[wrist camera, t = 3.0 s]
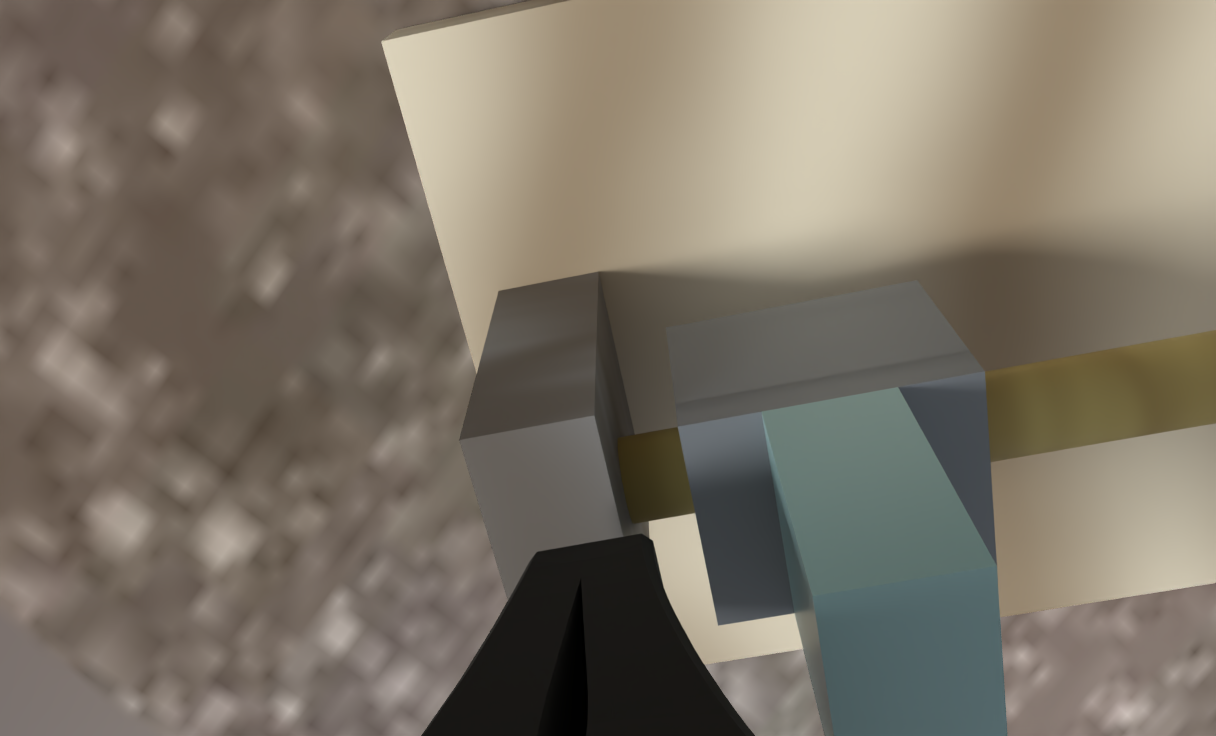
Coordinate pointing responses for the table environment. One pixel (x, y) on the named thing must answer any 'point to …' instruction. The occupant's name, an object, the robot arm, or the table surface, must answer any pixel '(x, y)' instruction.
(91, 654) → the table surface
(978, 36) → the rod and block board
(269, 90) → the table surface
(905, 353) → the sleeve
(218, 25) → the table surface
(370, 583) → the table surface
